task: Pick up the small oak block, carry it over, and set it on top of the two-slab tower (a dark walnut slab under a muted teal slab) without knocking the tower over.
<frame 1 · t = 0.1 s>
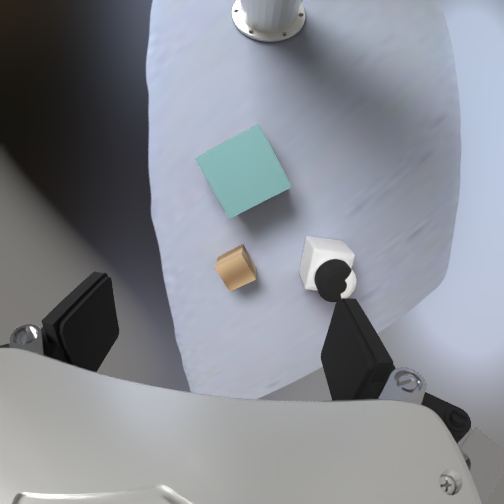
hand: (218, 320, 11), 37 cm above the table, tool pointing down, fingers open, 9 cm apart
teal slab: (244, 170, 41), point 4 cm above the table
medicine bottle: (320, 255, 50), on the table
oak block: (237, 261, 50), on the table
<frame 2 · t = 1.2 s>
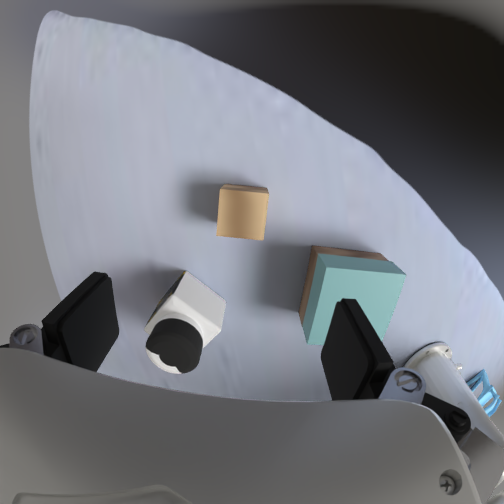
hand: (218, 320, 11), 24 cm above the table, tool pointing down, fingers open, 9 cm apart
teal slab: (347, 294, 33), point 4 cm above the table, touching walnut slab
medicine bottle: (192, 301, 38), on the table
chair: (473, 381, 47), on the table
walnut slab: (339, 282, 37), on the table, touching teal slab
oak block: (243, 206, 33), on the table
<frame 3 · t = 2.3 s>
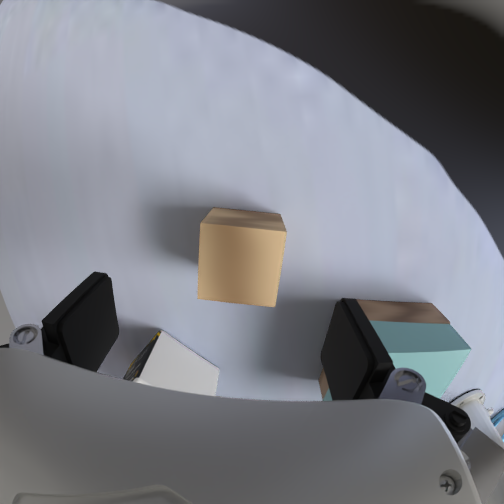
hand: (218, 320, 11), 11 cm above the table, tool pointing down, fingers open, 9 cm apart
teal slab: (387, 368, 21), point 4 cm above the table, touching walnut slab
medicine bottle: (173, 365, 26), on the table
chair: (497, 416, 34), on the table
walnut slab: (375, 342, 25), on the table, touching teal slab
oak block: (243, 242, 21), on the table
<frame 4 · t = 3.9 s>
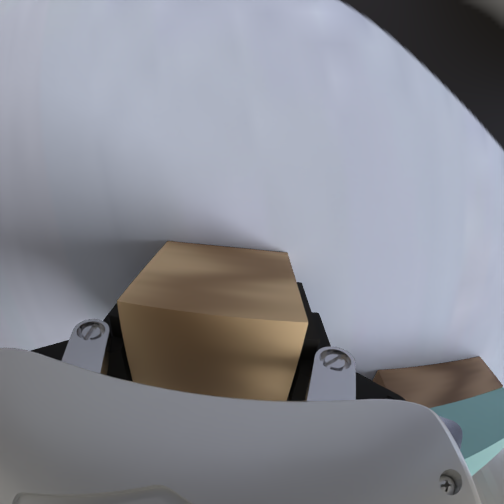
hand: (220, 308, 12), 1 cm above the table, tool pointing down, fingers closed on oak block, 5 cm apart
teal slab: (423, 446, 12), point 4 cm above the table
walnut slab: (406, 408, 16), on the table
oak block: (222, 299, 12), on the table, touching gripper
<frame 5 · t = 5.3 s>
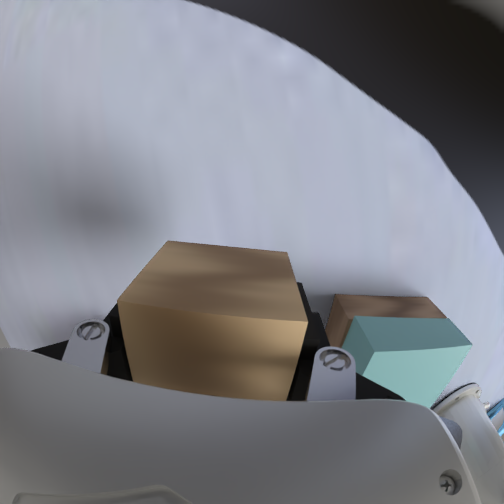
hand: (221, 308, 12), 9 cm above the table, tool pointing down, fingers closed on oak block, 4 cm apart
teal slab: (384, 365, 20), point 4 cm above the table, touching walnut slab
chair: (492, 409, 36), on the table
walnut slab: (368, 338, 24), on the table, touching teal slab
oak block: (222, 299, 12), point 8 cm above the table, touching gripper
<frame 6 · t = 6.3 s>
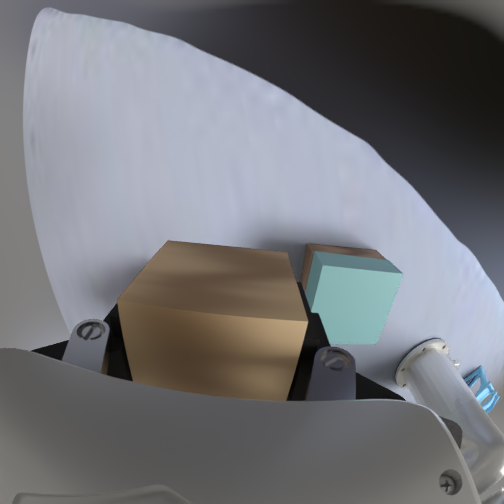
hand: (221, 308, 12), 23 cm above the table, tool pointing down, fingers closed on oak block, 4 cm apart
teal slab: (343, 293, 33), point 4 cm above the table
chair: (470, 377, 48), on the table
walnut slab: (335, 280, 37), on the table
oak block: (222, 298, 12), point 22 cm above the table, touching gripper
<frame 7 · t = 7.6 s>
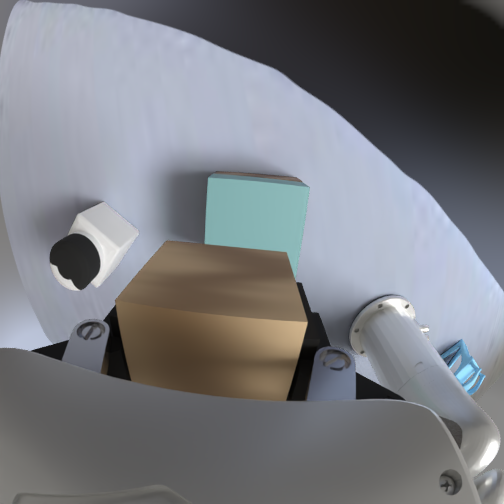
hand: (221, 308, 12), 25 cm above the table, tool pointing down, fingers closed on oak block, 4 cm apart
teal slab: (253, 220, 32), point 4 cm above the table, touching walnut slab
medicine bottle: (111, 234, 36), on the table
chair: (450, 353, 47), on the table
oak block: (222, 299, 12), point 24 cm above the table, touching gripper
when the fingers open (10 cm above the table, at t = 10.6 s): oak block drops 2 cm, resting on teal slab.
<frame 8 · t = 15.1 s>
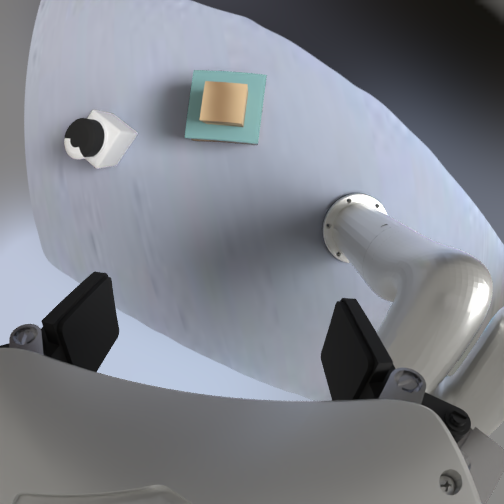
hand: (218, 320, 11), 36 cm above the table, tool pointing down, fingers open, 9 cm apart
teal slab: (227, 109, 37), point 4 cm above the table, touching oak block, walnut slab
medicine bottle: (114, 139, 41), on the table
oak block: (227, 108, 33), point 8 cm above the table, touching teal slab
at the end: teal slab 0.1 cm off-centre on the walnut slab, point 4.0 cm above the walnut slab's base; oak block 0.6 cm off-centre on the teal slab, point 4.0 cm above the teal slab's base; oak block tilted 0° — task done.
